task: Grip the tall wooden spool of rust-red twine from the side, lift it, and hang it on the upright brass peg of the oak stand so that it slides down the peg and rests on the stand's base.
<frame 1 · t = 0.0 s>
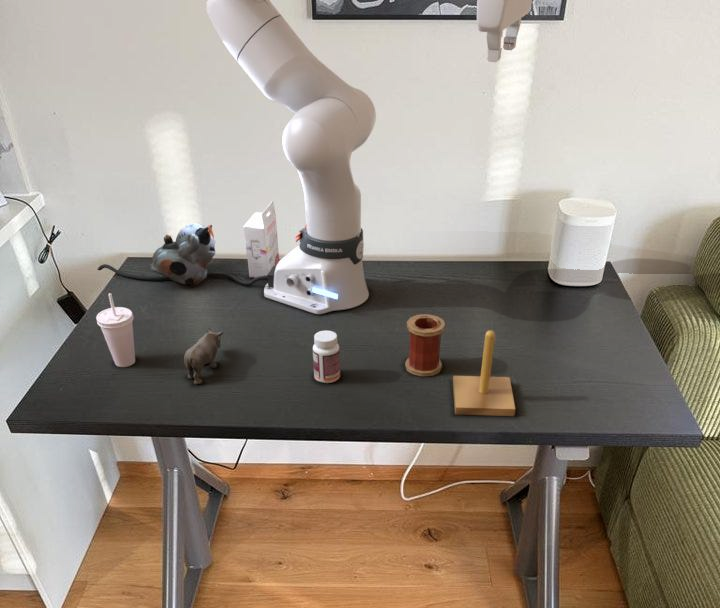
hand: (501, 55, 123), 48 cm above the table, tool pointing down, fingers open, 8 cm apart
pill bottle: (327, 377, 138), on the table
peg stand: (482, 398, 133), on the table
rhino figurine: (208, 366, 141), on the table
ink cartridge box: (264, 271, 173), on the table
smoothie: (125, 362, 142), on the table
lucky cat figurine: (186, 276, 171), on the table
spool: (423, 366, 141), on the table
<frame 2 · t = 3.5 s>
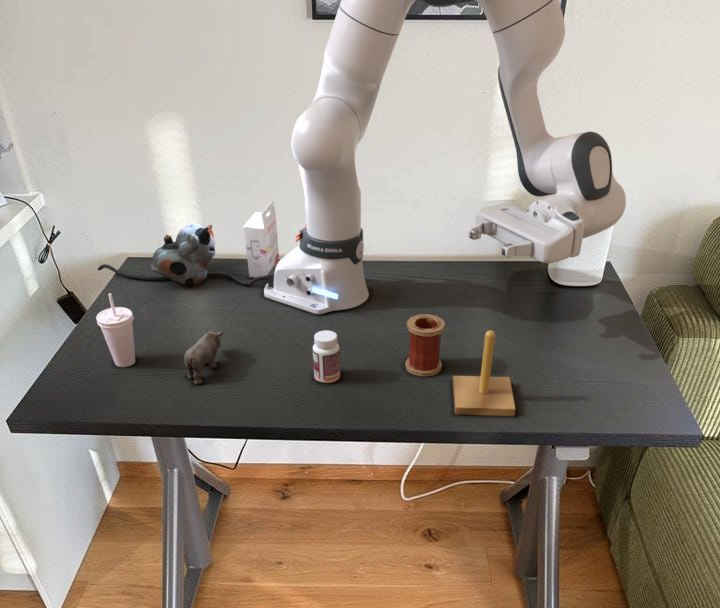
hand: (487, 243, 132), 21 cm above the table, tool horizontal, fingers open, 8 cm apart
nothing on the table moved.
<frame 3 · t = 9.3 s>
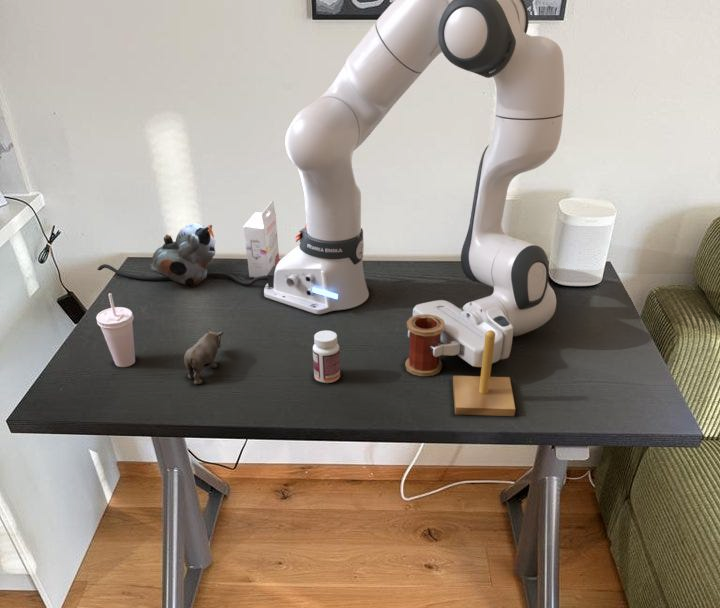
hand: (421, 343, 137), 5 cm above the table, tool horizontal, fingers closed on spool, 5 cm apart
spool: (423, 366, 141), on the table, touching gripper
everything else where it was.
when the fingers open (7 cm above the table, at t = 18.6 s): spool stays where it is, resting on peg stand.
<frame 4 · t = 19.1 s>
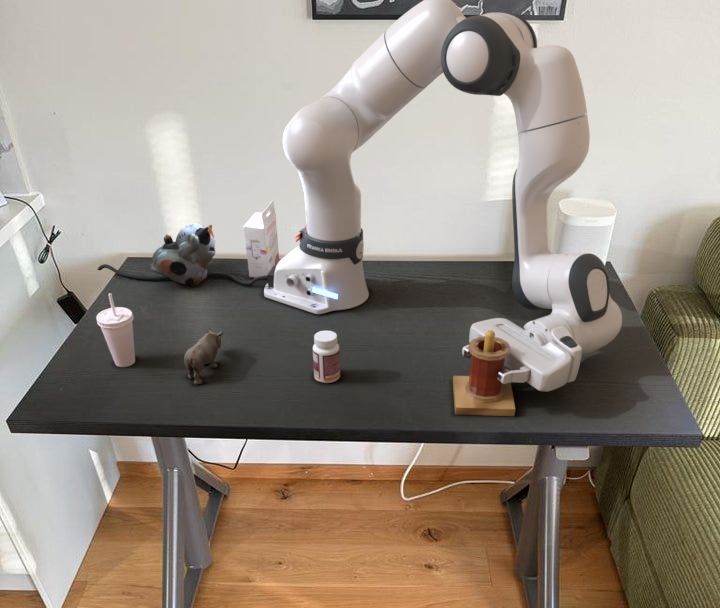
hand: (482, 365, 128), 7 cm above the table, tool horizontal, fingers open, 8 cm apart
spool: (484, 391, 132), point 1 cm above the table, touching peg stand
everything else where it was.
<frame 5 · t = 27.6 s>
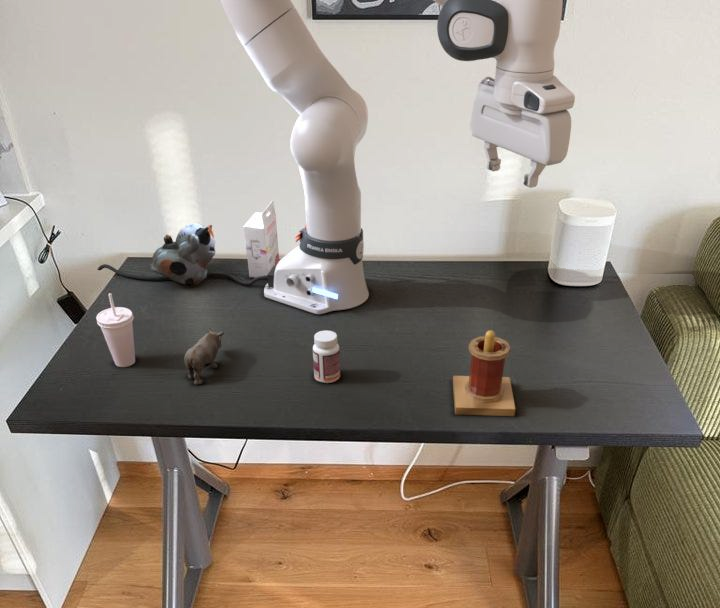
hand: (511, 177, 128), 31 cm above the table, tool pointing down, fingers open, 8 cm apart
nothing on the table moved.
at the end: spool 0.1 cm off-centre on the peg stand, point 1.5 cm above the peg stand's base; spool tilted 0°; the gripper is holding nothing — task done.
